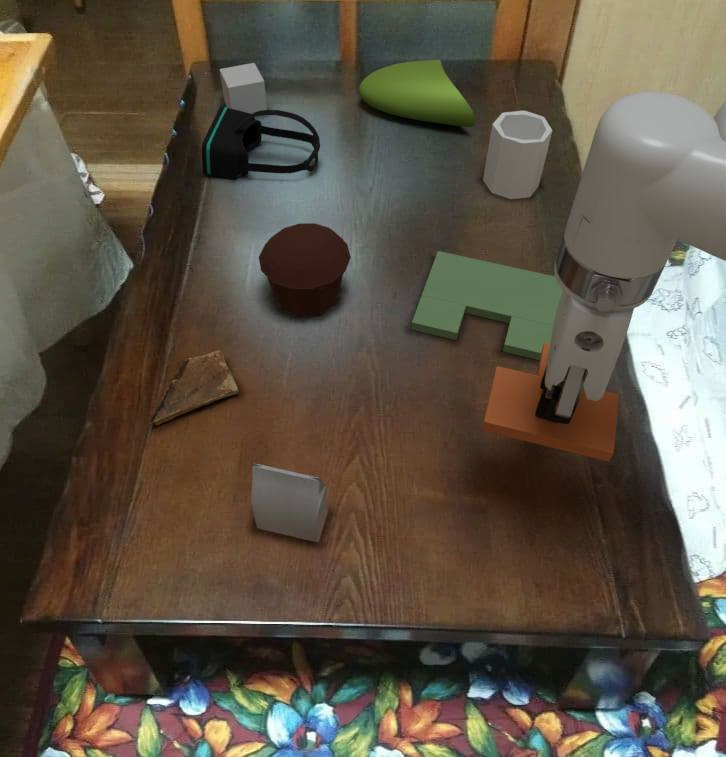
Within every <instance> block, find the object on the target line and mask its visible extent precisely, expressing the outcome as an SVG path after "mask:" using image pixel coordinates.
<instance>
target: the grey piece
mask: <svg viewBox="0 0 726 757" xmlns="http://www.w3.org/2000/svg"><path fill="white" fill-rule="evenodd" d="M251 468H252V478H251V479H252V480H251V496H250V504H251V508H252V511H253V516H254V521H255V526H256V529H258V530H263V531H266V532H271V533H275V534H279V535H284V536H287V537H291V538H297V539H301V540H305V541H308V542H312V543H320V541H321V540H320V539H321V536H322V533H323V530H324V526H325V523H326V520H327V517H328V513H329V507H328V489H327V488H328V487H327V484H326V483H324V482H323V481H322V479H321V477H317V476H314V475H313V476H312V475H310V474H304V473H299V472H295V471H291V470H286V469H282V468H278V467H273V466H268V465H263V464H259V463H253V465H252V467H251Z"/></svg>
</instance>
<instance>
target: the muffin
mask: <svg viewBox="0 0 726 757" xmlns="http://www.w3.org/2000/svg"><path fill="white" fill-rule="evenodd" d="M351 258H352V256H351V253H350V249H349V246H348V243H347V242H346V241H345V240H344V238H342V236H340V235H339V234H338V233H337V232H336V231H334V230H333V229H332V228H331V227H328V226H325V225H322V224H319V223H316V222H315V223H313V222H312V223H309V222H307V223H304V222H303V223H296V224H293V225H289V226H287V227H284V228H282V229H281V230H279V231H278V232H276V233H275V234H274V235H272V236H271V237H270V238H269V239H268V240H267V241H266V242H265V243H264V246H263V248H262V250H261V252H260V254H259V255H258V263H259V267H260V271H261V273H263V275H264V276H265V277H266V278H267V280H268V283H269V287H270V289H271V293H272V296H273V297H274V299H275V300H276V302H277V304H278V306H279V308H280V311H282V312H286V313H289V314H291V315H293V316H294V317H297V318H299V319H300V318H305V317H320V316H322V315H323V314H324V313H326V312H327V311H328V310H329V309H332V308H333V307H336V305H337V300H338V296H339V294H340V291H341V286H342V283H343V276H344V274H345V273H346V271H347V269H348V267H349V264H350V261H351Z"/></svg>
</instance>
